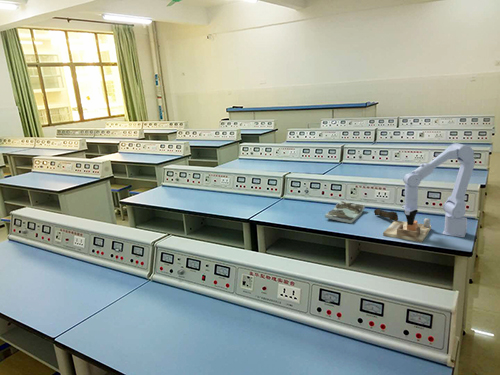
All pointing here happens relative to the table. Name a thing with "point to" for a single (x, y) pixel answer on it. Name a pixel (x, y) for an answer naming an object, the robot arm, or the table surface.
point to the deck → (406, 231)
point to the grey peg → (427, 222)
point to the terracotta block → (412, 226)
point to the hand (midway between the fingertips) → (410, 224)
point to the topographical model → (345, 212)
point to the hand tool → (386, 214)
